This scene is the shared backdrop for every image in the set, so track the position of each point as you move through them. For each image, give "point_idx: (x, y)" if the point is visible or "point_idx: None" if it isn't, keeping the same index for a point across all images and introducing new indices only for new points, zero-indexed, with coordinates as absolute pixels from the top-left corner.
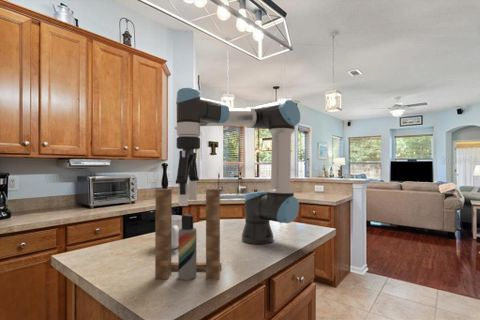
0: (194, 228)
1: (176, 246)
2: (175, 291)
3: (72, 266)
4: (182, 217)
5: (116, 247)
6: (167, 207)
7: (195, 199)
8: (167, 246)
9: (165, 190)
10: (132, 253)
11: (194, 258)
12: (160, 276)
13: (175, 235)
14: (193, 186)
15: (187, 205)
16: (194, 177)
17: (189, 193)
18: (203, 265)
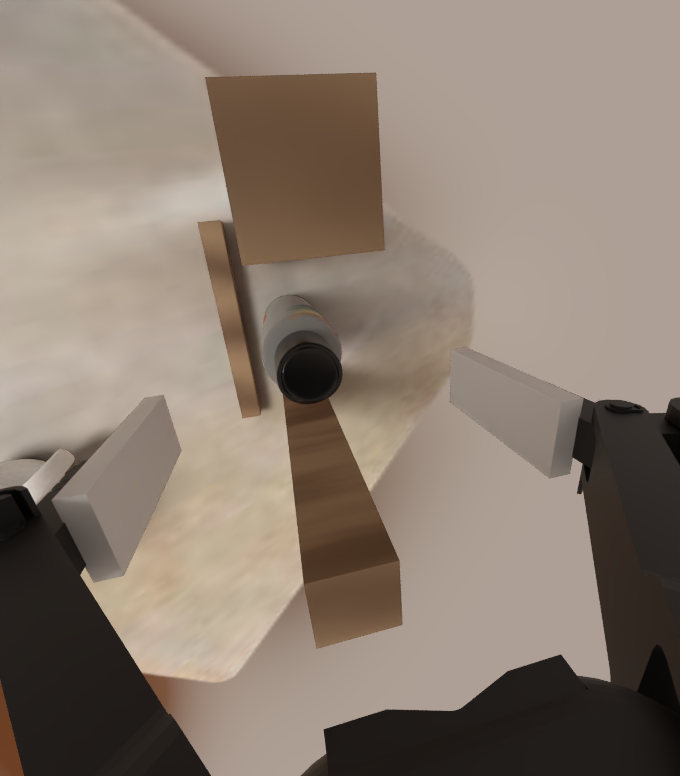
0: (287, 327)
1: (40, 461)
2: (377, 319)
3: (279, 606)
4: (334, 390)
5: (113, 623)
6: (365, 483)
7: (164, 401)
8: (329, 401)
9: (397, 571)
10: (150, 553)
11: (304, 302)
12: None
13: (62, 475)
14: (129, 480)
15: (466, 348)
16: (66, 556)
17: (165, 473)
18: (234, 286)
